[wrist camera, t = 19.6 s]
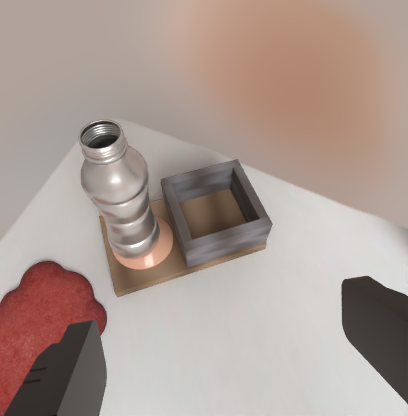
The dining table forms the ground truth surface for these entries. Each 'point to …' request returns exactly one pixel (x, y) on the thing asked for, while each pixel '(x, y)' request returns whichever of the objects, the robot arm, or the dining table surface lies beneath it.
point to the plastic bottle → (118, 188)
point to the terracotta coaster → (156, 255)
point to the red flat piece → (40, 320)
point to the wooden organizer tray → (200, 225)
